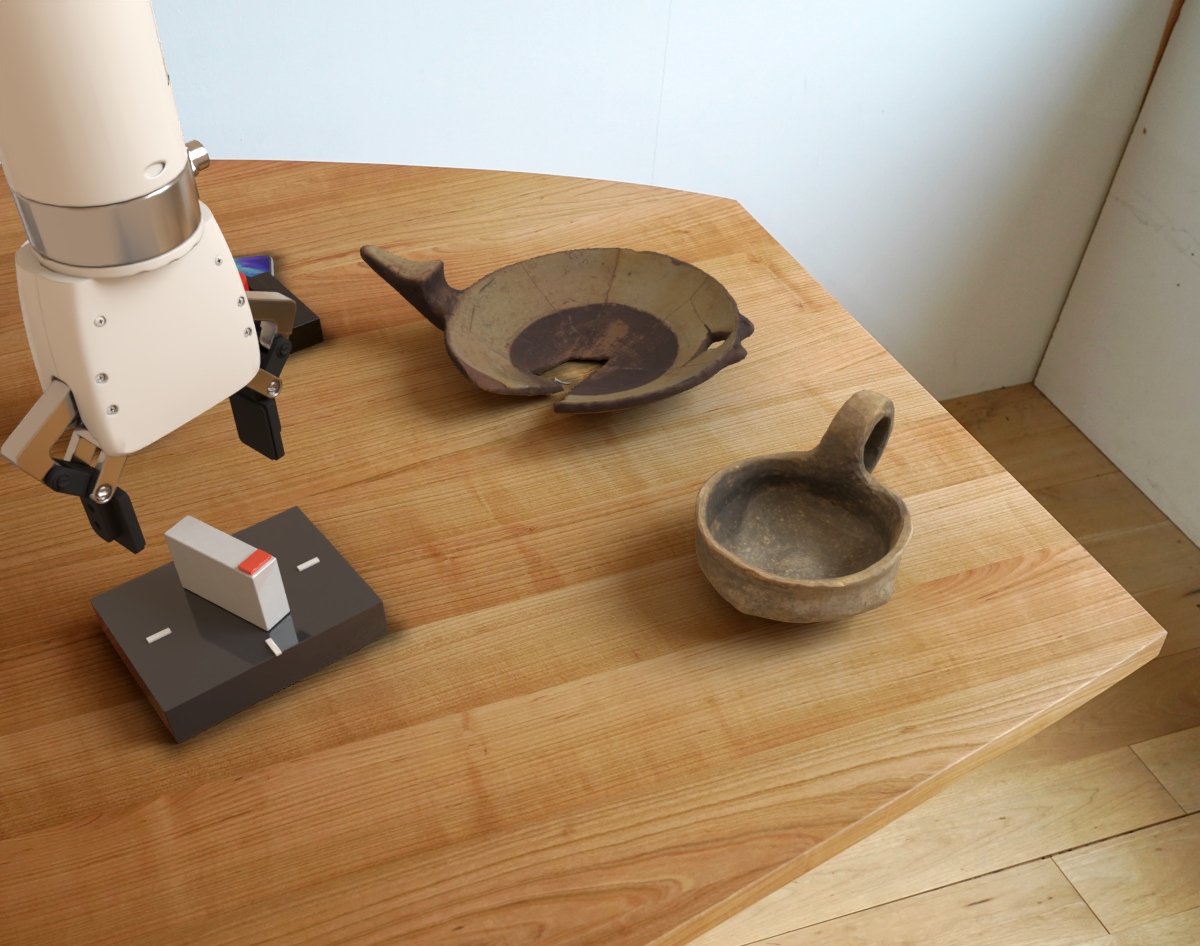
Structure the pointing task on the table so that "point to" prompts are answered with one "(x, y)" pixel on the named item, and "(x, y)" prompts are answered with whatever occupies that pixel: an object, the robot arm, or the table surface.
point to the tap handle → (228, 572)
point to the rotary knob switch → (239, 629)
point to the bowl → (807, 524)
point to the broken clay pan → (579, 323)
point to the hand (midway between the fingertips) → (196, 492)
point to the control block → (305, 320)
